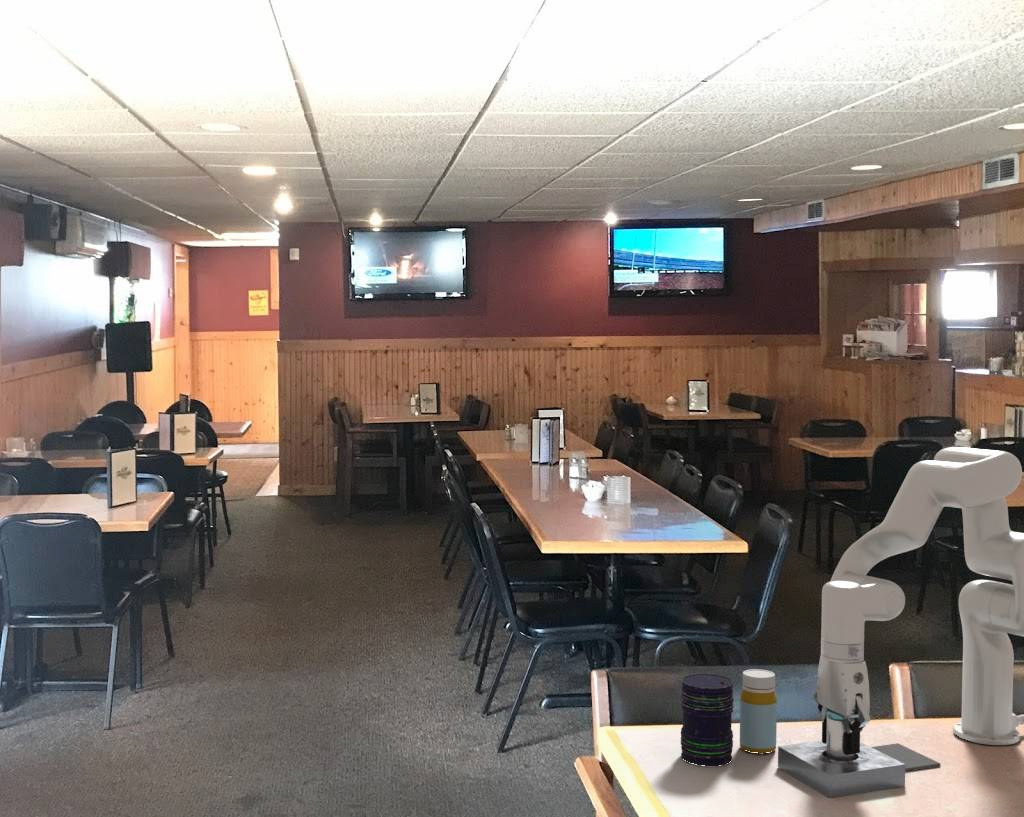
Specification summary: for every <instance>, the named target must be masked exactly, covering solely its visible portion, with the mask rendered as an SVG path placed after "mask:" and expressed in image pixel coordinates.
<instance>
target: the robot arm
mask: <svg viewBox="0 0 1024 817" xmlns="http://www.w3.org/2000/svg"><path fill="white" fill-rule="evenodd" d="M1022 478H1023V468H1022V465H1021V462H1020V460H1019V458H1018V457H1016V456H1015V455H1014V454H1013V453H1011V452H1008V451H1005V450H998V449H997V450H994V449H984V448H982V449H981V448H975V447H974V448H973V447H960V446H959V447H958V446H957V447H956V446H955V447H951V446H950V447H946V448H945V447H944V448H942V449H940V450H939V451H938V452H937V453H935V455H934V457H933V460H921V461H918V462H916V463H915V464H913V465H912V466H911V467H910V469H909V470H908V472H907V474H906V476H905V478H904V480H903V482H902V483H901V486H900V487H899V490H898V492H897V493H896V496H895V497H894V499H893V502H891V503H892V504H891V506H890V507H889V509H888V511H887V513H886V516H885V518H884V519H883V521H882V522H881V523H880V524H879V525H877V526H875V527H874V528H872V529H871V530H869V531H868V532H866V533H865V534H864V535H862V536H861V537H860V538H859V539H858V540H856V541H855V542H853V543H851V545H850V546H849V547H848V548H847V549H846V551H844V552H843V554H842V556H841V558H840V560H839V561H838V562H837V563H838V564H837V566H836V567H835V570H834V572H833V574H832V576H831V578H830V580H829V581H827V582H826V583H825V584H823V586H822V590H821V629H820V630H821V631H820V632H821V633H820V635H821V636H820V637H821V638H820V657H819V662H818V669H817V679H816V682H817V683H816V692H815V694H813V698H814V700H815V702H816V705H817V708H818V711H819V713H820V716H819V718H820V720H821V722H822V723H821V741H822V742H823V743H824V744H826V741H827V710H828V709H830V710H832V711H834V712H836V713H838V714H840V715H842V716H843V717H844V723H845V728H846V732H844V734H843V753H844V754H846V755H849V754H856V753H859V752H860V742H861V733H862V732H863V730H864V728H865V727H866V725H868V724H869V722H871V716H870V706H871V705H870V700H871V699H870V681H869V673H868V666H867V663H866V660H864V659H865V656H864V654H865V652H864V651H865V622H866V621H875V622H876V621H878V622H885V621H891V620H893V619H895V618H896V617H898V616H900V614H901V613H902V612H903V610H904V608H905V605H906V596H905V593H904V591H903V589H902V588H901V587H900V586H899V585H898V584H897V583H895V582H893V581H891V580H889V579H884V578H879V577H874V576H871V575H867V574H868V573H869V572H870V570H871V569H872V568H874V566H876V565H877V564H878V563H880V562H881V561H884V560H885V559H887V558H890V557H892V556H896V555H898V554H903V553H907V552H909V551H913V550H916V549H918V548H920V547H923V546H924V545H925V544H926V542H927V540H928V539H929V536H930V535H931V532H932V530H933V528H934V526H935V524H936V522H937V520H938V518H939V516H940V514H941V512H942V511H943V509H944V508H945V507H949V508H957V509H961V513H962V525H963V530H962V531H963V544H964V545H963V546H964V547H963V550H964V558H965V563H966V566H967V568H968V569H969V570H970V571H972V572H974V573H976V574H979V575H983V576H986V577H987V576H988V577H992V578H998V579H1003V580H1008V581H1012V584H1010V583H1005V582H1000V581H995V580H989V579H975V580H972V581H969V582H967V583H966V584H965V585H964V586H963V587H962V588H961V591H960V593H959V596H958V611H959V612H958V613H959V615H960V621H961V628H962V680H961V681H962V682H961V719H960V720H961V721H960V722H957V723H955V724H954V725H953V726H952V732H953V734H954V735H955V736H956V735H957V736H956V737H958V736H959V737H958V738H960V739H963V740H964V739H965V740H964V741H967V740H968V742H970V743H975V744H981V745H988V746H1011V745H1014V744H1017V743H1018V742H1020V741H1021V733H1020V732H1019V730H1017V728H1018V727H1019V725H1024V714H1018V715H1017V714H1015V713H1014V712H1013V700H1014V699H1013V697H1014V696H1013V694H1014V693H1013V692H1014V662H1015V657H1014V656H1015V654H1014V653H1015V652H1014V649H1013V648H1014V647H1013V644H1012V642H1011V641H1012V640H1011V639H1010V637H1009V635H1008V634H1010V635H1014V636H1019V637H1024V532H1019V531H1013V530H1011V527H1010V524H1009V523H1010V522H1009V510H1008V509H1009V508H1008V504H1007V503H1008V502H1007V501H1006V497H1007V496H1009V495H1011V494H1012V493H1013V492H1015V491H1016V489H1017V488H1018V487H1019V485H1020V483H1021V482H1022ZM852 711H854V714H852ZM850 718H854V720H855V721H854V722H853V723H852V724H851V721H850Z"/></svg>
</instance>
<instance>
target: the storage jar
mask: <svg viewBox="0 0 1024 817" xmlns="http://www.w3.org/2000/svg"><path fill="white" fill-rule="evenodd" d="M681 685H682V686H681V693H680V694H681V695H680V699H681V700H680V701H681V702H680V703H681V704H680V706H681V710H682V727H681V728H680V745H681V746H680V750H681V754H680V758H681V757H682V758H683V759H684V760H686V761H688V762H690V763H694V764H697V765H705V766H719V765H725V764H727V763H729V762H730V761H731V760H732V761H733V755H732V753H733V747H734V740H733V738H734V733H733V730H732V713H733V712H734V711H733V710H734V690H733V687H734V682H733V680H732V678H729V677H726V676H723V675H718V674H710V673H709V674H708V673H696V674H689V675H686V676H683V678H682V679H681ZM682 758H681V759H682ZM725 766H726V765H725ZM719 767H720V766H719Z"/></svg>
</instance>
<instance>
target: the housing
mask: <svg viewBox="0 0 1024 817" xmlns="http://www.w3.org/2000/svg"><path fill="white" fill-rule="evenodd" d="M777 747H778V748H777V768H778V767H779V768H778V769H780V768H781V769H780V770H781V771H783V770H784V771H783V772H785V771H786V773H787V774H788V773H789V775H791V776H792V777H793V776H794V777H793V778H795V779H797V780H799V781H800V782H802V783H803V784H806V785H808V786H809V787H810V788H812V789H814V790H815V791H818V792H819V793H821V794H823V795H824V796H826V797H828V798H829V799H831V798H837V797H844V796H850V795H858V794H863V793H871V792H877V791H882V790H888V789H889V790H890V789H896V788H902V787H906V772H905V764H904V763H902V762H900V761H898V760H896V759H894V758H892V757H890V756H888V755H886V754H884V753H882V752H880V751H877V750H875V749H873V748H871V747H872V746H869V745H867V744H866V743H863V742H861V741H860V752H859V753H856V754H855V760H854V761H836V760H832V759H828V758H826V744H824V743H823V742H822V740H816V741H815V740H814V741H808V742H799V743H793V744H786V745H778V746H777Z"/></svg>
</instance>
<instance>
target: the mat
mask: <svg viewBox="0 0 1024 817" xmlns="http://www.w3.org/2000/svg"><path fill="white" fill-rule="evenodd" d="M870 747H871V748H873V749H875V750H877V751H880V752H882V753H884V754H886V755H888V756H890V757H892V758H894V759H896V760H898V761H900V762H902V763H904V764H905V771H907V772H911V771H910V770H913V771H916V770H915V769H920V770H926V769H925V768H927V769H930V768H929V767H934V768H939V766H940V767H941V763H940V762H938V761H936V760H934V759H932V758H930V757H928V756H926V755H924V754H921V753H920V752H917V751H915V750H914V749H911V748H909V747H907V746H904V745H902V744H900V743H899V742H898V743H891V744H890V743H889V744H884V745H883V744H882V745H877V746H870ZM937 766H938V767H937ZM922 768H923V769H922Z"/></svg>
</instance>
